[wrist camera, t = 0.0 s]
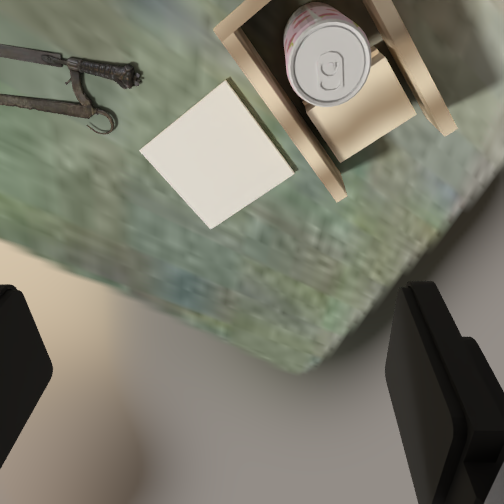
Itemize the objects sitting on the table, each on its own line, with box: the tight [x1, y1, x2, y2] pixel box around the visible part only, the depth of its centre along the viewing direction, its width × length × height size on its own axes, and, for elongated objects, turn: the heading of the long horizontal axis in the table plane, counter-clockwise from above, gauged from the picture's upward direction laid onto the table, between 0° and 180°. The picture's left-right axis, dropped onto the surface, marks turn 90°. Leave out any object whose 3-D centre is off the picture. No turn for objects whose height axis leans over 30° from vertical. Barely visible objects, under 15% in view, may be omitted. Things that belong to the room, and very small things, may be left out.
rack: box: [213, 0, 458, 202], centre depth 40 cm, size 19×12×6 cm, turn 37°
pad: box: [139, 80, 295, 229], centre depth 48 cm, size 12×12×1 cm
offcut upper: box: [305, 52, 416, 163], centre depth 41 cm, size 6×8×2 cm
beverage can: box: [283, 2, 371, 107], centre depth 35 cm, size 6×6×15 cm
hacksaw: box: [0, 44, 141, 134], centre depth 45 cm, size 24×10×2 cm, turn 81°
